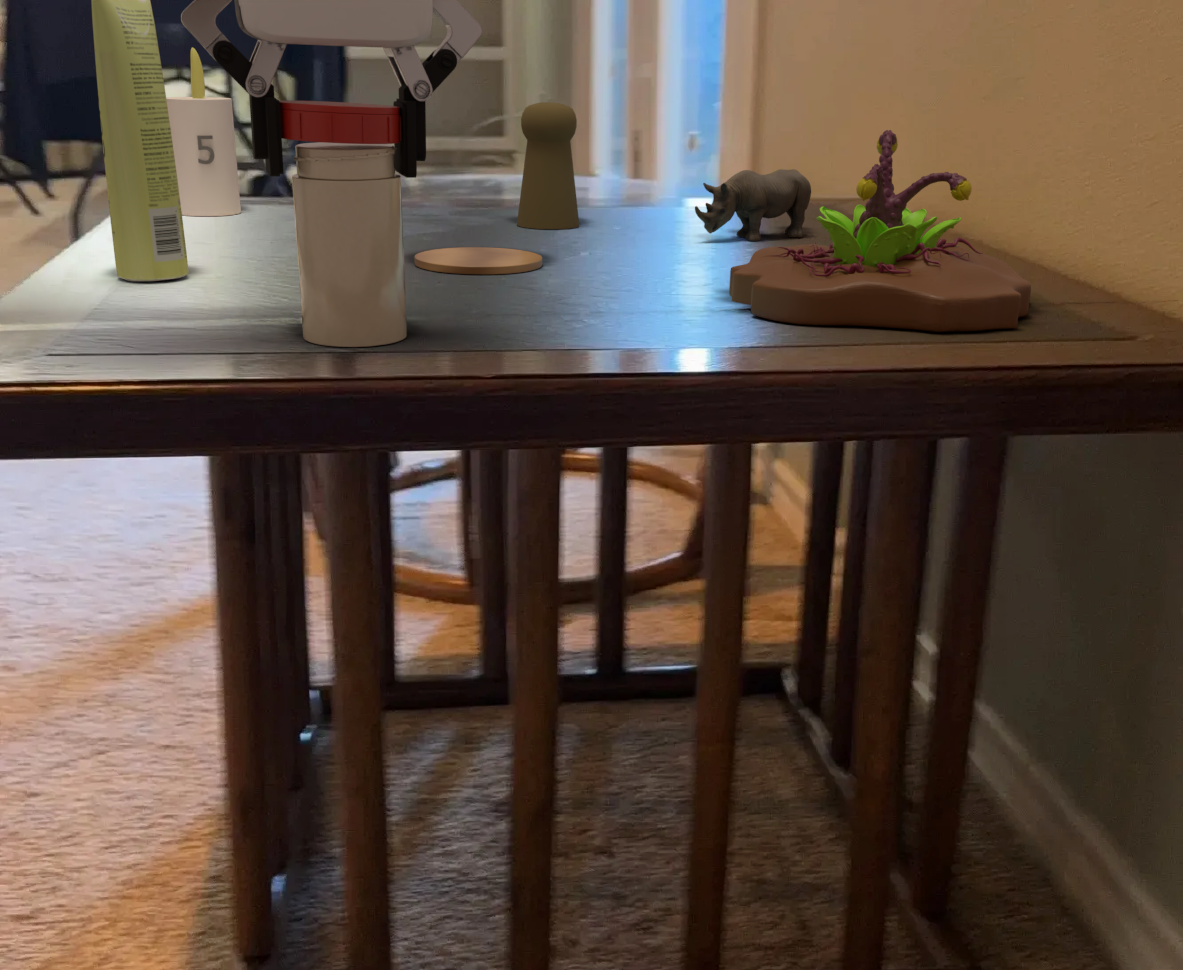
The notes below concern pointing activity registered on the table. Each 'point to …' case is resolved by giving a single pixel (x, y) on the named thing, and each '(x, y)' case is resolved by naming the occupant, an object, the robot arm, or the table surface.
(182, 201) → the candle
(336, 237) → the jar
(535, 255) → the coaster
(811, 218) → the table surface
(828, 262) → the plant
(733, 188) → the rhino figurine
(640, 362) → the table surface
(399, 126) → the lid
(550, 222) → the pepper shaker
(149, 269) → the tube
